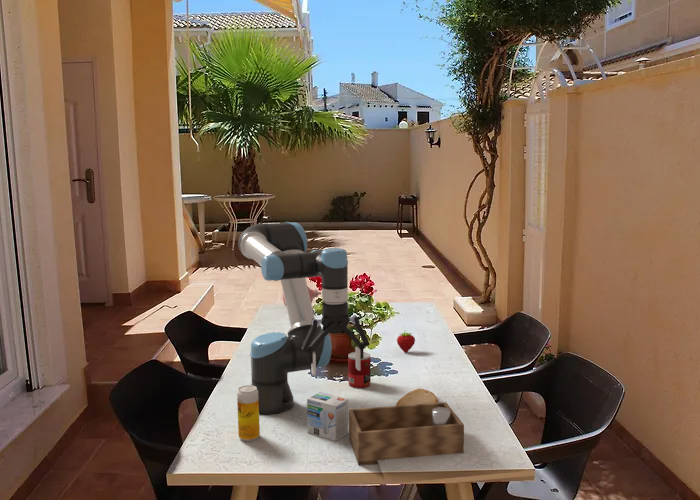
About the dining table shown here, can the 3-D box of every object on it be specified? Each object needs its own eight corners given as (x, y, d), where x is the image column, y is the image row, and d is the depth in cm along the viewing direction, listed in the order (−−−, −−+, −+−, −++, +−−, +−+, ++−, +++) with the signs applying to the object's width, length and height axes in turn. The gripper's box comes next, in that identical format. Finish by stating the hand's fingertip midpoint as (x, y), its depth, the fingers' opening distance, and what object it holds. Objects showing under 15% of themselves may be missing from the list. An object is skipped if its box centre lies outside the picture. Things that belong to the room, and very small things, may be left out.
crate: (358, 465, 169) (358, 433, 168) (349, 438, 185) (348, 409, 184) (463, 456, 174) (464, 424, 173) (445, 431, 190) (445, 402, 188)
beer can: (234, 437, 186) (232, 388, 184) (251, 431, 191) (250, 383, 188) (246, 444, 182) (245, 394, 180) (264, 437, 186) (262, 388, 184)
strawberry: (416, 354, 260) (416, 330, 259) (398, 355, 259) (398, 331, 258) (413, 350, 266) (413, 326, 264) (395, 350, 265) (395, 327, 264)
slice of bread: (427, 393, 220) (427, 382, 220) (453, 412, 204) (453, 401, 203) (379, 400, 214) (379, 389, 213) (402, 421, 197) (402, 410, 197)
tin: (434, 445, 178) (434, 415, 177) (429, 437, 183) (429, 407, 182) (451, 444, 179) (452, 413, 178) (446, 436, 184) (446, 406, 182)
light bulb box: (306, 433, 189) (305, 398, 188) (320, 424, 195) (319, 391, 193) (336, 441, 183) (335, 406, 182) (349, 433, 189) (349, 398, 187)
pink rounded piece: (323, 314, 324) (322, 285, 322) (283, 316, 321) (282, 286, 319) (320, 307, 339) (320, 279, 337) (282, 309, 337) (281, 280, 334)
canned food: (368, 389, 223) (368, 359, 221) (346, 387, 225) (346, 357, 223) (372, 381, 231) (372, 352, 229) (350, 380, 232) (350, 351, 230)
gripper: (295, 307, 180) (297, 380, 183) (379, 301, 186) (379, 371, 190) (290, 301, 187) (292, 371, 190) (371, 295, 194) (372, 363, 197)
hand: (336, 371), depth 190 cm, fingers open, 13 cm apart
